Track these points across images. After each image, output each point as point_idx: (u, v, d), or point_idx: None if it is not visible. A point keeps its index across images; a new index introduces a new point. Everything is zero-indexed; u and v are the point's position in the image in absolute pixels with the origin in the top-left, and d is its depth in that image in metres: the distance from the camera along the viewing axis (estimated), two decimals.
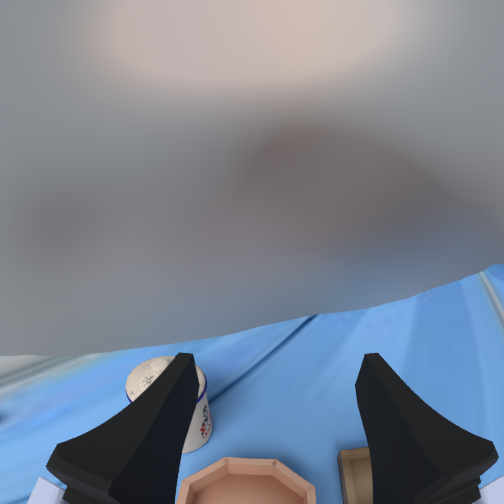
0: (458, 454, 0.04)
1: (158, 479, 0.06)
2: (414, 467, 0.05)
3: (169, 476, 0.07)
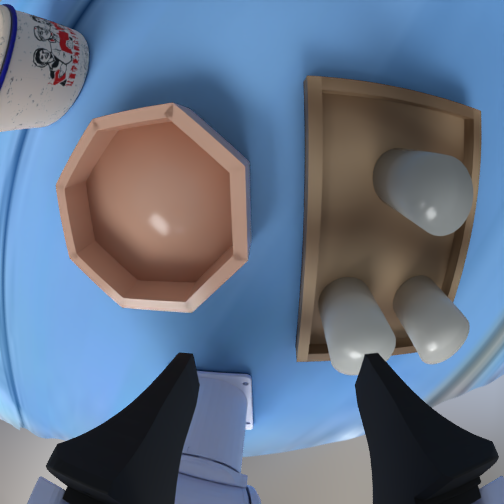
0: (458, 454, 0.04)
1: (158, 479, 0.06)
2: (414, 467, 0.05)
3: (169, 476, 0.07)
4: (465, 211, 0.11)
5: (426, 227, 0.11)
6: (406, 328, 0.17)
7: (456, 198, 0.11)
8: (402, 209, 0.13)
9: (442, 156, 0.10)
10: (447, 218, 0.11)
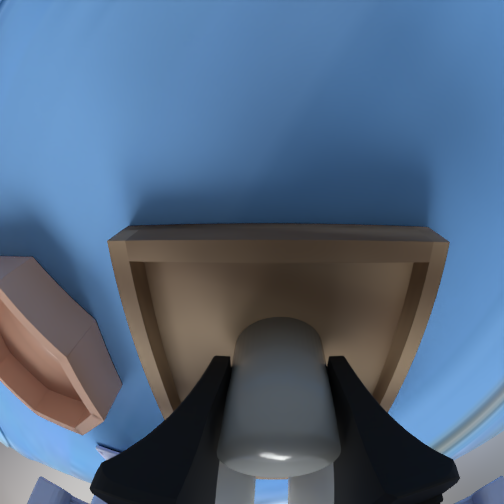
0: (409, 471, 0.04)
1: (205, 488, 0.06)
2: (363, 479, 0.05)
3: (212, 483, 0.07)
4: (323, 463, 0.07)
5: (251, 474, 0.08)
6: None
7: (302, 458, 0.07)
8: None
9: (268, 432, 0.06)
10: (287, 470, 0.08)
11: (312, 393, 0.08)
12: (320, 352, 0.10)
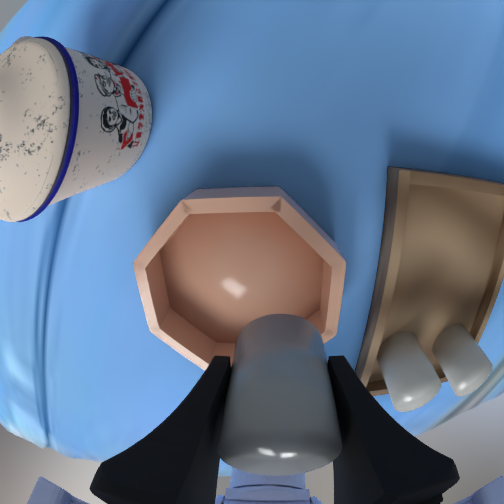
0: (409, 471, 0.04)
1: (205, 488, 0.06)
2: (363, 479, 0.05)
3: (212, 483, 0.07)
4: (324, 461, 0.07)
5: (251, 471, 0.08)
6: (444, 369, 0.18)
7: (303, 455, 0.07)
8: None
9: (269, 429, 0.06)
10: (288, 467, 0.08)
11: (314, 390, 0.08)
12: (321, 349, 0.10)
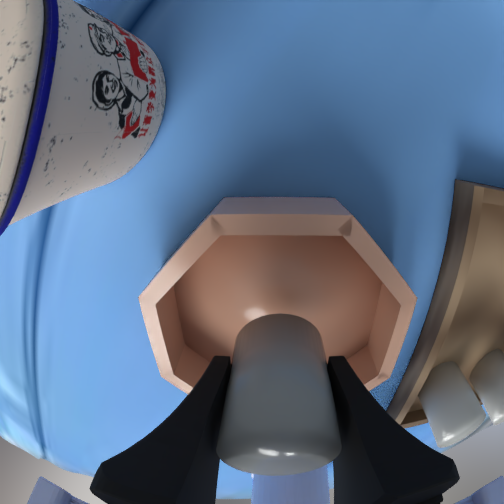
0: (409, 471, 0.04)
1: (205, 488, 0.06)
2: (363, 479, 0.05)
3: (212, 483, 0.07)
4: (323, 461, 0.07)
5: (250, 471, 0.08)
6: (483, 398, 0.14)
7: (302, 455, 0.07)
8: None
9: (269, 428, 0.06)
10: (287, 467, 0.08)
11: (313, 389, 0.08)
12: (320, 349, 0.10)
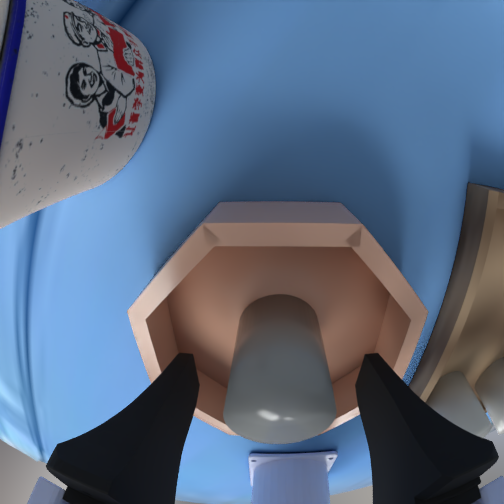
0: (458, 454, 0.04)
1: (158, 479, 0.06)
2: (414, 467, 0.05)
3: (169, 476, 0.07)
4: (320, 427, 0.09)
5: (254, 439, 0.09)
6: (488, 408, 0.13)
7: (301, 419, 0.09)
8: None
9: (271, 387, 0.08)
10: (287, 433, 0.09)
11: (309, 356, 0.09)
12: (316, 325, 0.12)
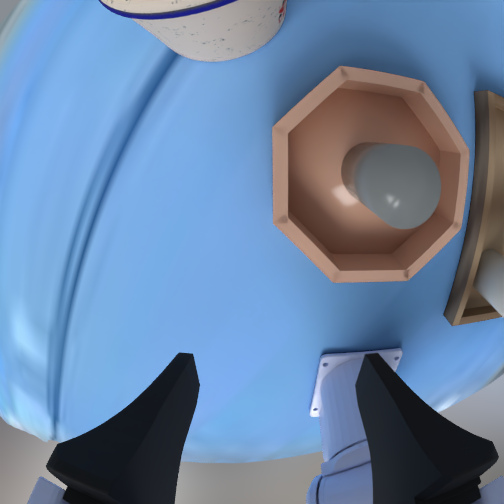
0: (458, 454, 0.04)
1: (158, 479, 0.06)
2: (414, 467, 0.05)
3: (169, 476, 0.07)
4: (432, 203, 0.11)
5: (387, 220, 0.12)
6: None
7: (421, 190, 0.11)
8: (365, 202, 0.13)
9: (403, 147, 0.11)
10: (411, 211, 0.12)
11: None
12: None
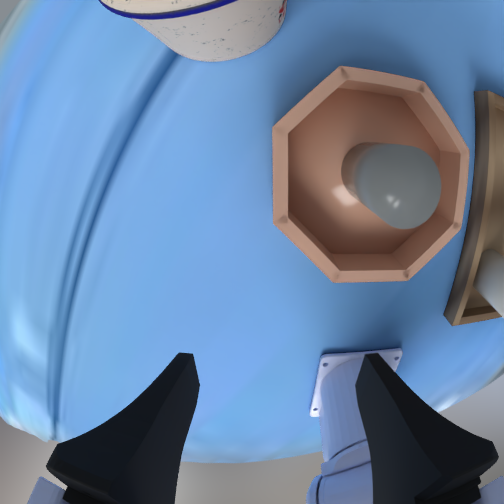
0: (458, 454, 0.04)
1: (158, 479, 0.06)
2: (414, 467, 0.05)
3: (169, 476, 0.07)
4: (432, 203, 0.11)
5: (388, 220, 0.12)
6: None
7: (421, 190, 0.11)
8: (365, 202, 0.13)
9: (404, 147, 0.11)
10: (412, 211, 0.12)
11: None
12: None
